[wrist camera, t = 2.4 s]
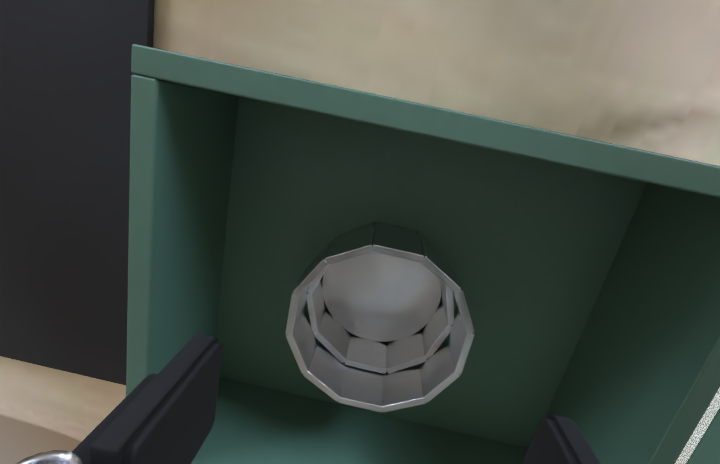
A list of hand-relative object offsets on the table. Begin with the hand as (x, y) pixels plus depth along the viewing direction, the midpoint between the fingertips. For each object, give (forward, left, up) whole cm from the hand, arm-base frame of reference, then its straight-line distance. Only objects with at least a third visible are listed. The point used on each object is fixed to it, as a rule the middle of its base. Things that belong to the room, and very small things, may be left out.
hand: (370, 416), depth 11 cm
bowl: (0, 0, -8) cm, 8 cm away
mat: (-1, -19, -9) cm, 21 cm away
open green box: (0, +1, -9) cm, 9 cm away
